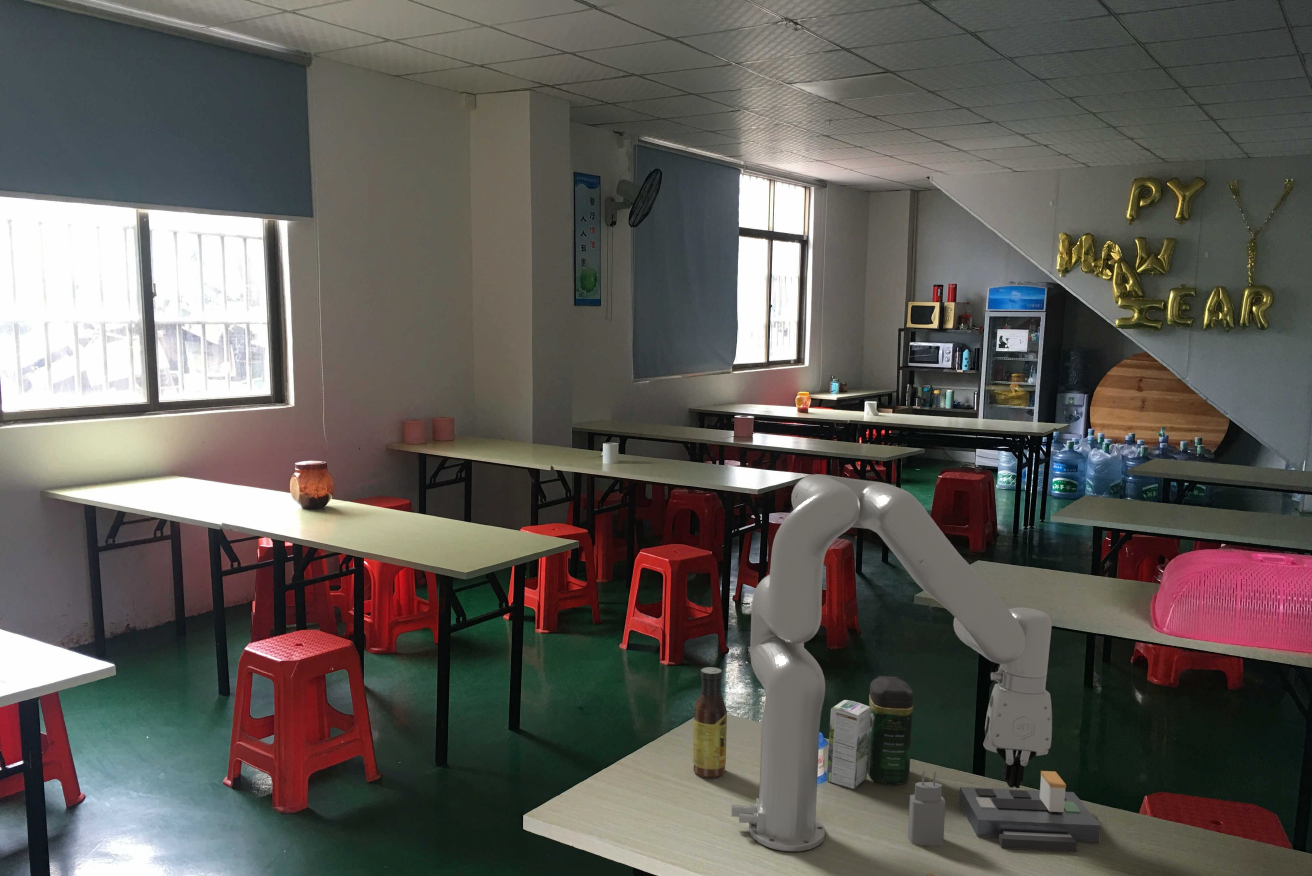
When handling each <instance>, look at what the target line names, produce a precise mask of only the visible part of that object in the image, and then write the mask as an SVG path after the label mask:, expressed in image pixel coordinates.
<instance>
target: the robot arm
mask: <svg viewBox="0 0 1312 876" xmlns="http://www.w3.org/2000/svg"><path fill="white" fill-rule="evenodd" d="M791 505H792V509H793V510H792V511H791V512H790V513H789V514H788V515H787V516H786V518H785V519H784V520H783V521H782V523H781V524H780V526H779V527H778V529H777V531H776V533H775V535H774V538H773V543H772V547H771V556H770V567H769V568H770V569H769V574H767V576H764V577H763V578H762V579H761V581H760V582H759V583H758V584H757V586H756V588H755V589H754V592H753V595H752V602H751V615H750V616H751V617H750V619H751V620H750V662H751V668H752V671H753V673H754V674H755V676H756V678H757V680H758V681H759V682H760V684H761V685H762V687H763V689H764V691H765V702H764V703H765V704H764V708H763V712H762V719H761V727H760V731H761V732H760V765H759V768H760V769H759V792H758V793H759V796H758V797H756V799H755V803H750V804H749V805H744V804H743V805H742V804H733V803H732V804H731V809H730V810H731V814H730V815H731V817H734V818H735V817H737V818H738V822H739V823H743V824H746V823H748V832H749V835H750V836H751V838H753V840H755V841H756V842H757V843H759V844H760V845H763V846H764V847H766V848H770V849H773V850H776V851H783V852H803V851H808V850H812V849H815V848H816V847H818V846H819V845H821V844H822V843H823V842H824V840H825V837H826V836H825V835H826V833H825V832H826V829H825V826H824V825H823V823H822V822H821V821H820V820H819V819H818V818H817V799H818V798H817V797H818V796H817V795H818V794H817V793H818V778H819V777H818V775H819V774H818V772H819V750H820V726H821V718H822V717H821V716H822V711H823V706H824V700H825V696H826V680H825V676H824V673H823V669H822V667H821V666H820V664H819V663H818V661H817V660H816V658H814V656H813V655H812V654H811V653H810V652H809V651H808V649H806V648H805V643H807V642H809V641H810V640H811V639H813V638H814V637H815V635H816V634H817V633H818V631H819V629H820V626H821V623H822V613H823V612H822V611H823V610H822V608H823V607H822V603H823V602H822V599H823V598H822V597H823V595H822V594H823V573H824V563H825V557H826V554H827V551H828V549H829V548H830V546H831V545H832V543H834V542H835V540H836V539H838V537H840V536H841V535H842V534H844V533H846V532H847V531H849V530H850V529H851V528H858V529H859V528H860V529H868V530H870V531H872V532H874V533H876V534H877V535H878V536H879V537H880V538H881V539H882V541H883V543H884V544H885V545H886V546H887V547H888V548H889V550H890V551H891V552H892V553H893V554H894V556H896V558H897V560H898V561H899V562H900V564H901V565H902V566H903V567H904V569H905V570H906V571H907V573H908V574H909V575H910V577H911V578H912V579H913V581H914V582H915V583H916V584H917V585H918V586H919V587H920V588H921V589H922V590H923V591H924V592H925V593H926V594H927V595H928V596H929V597H931V598H932V599H934V600H935V601H936V602H937V603H939V604H940V605H941V606H942V607H944V608H945V609H946V610H947V611H948V612H949V613H950V614H952V616H953V617H954V618H953V625H952V626H953V630H954V632H955V635H956V636H957V637H958V639H959V640H960V641H961V642H962V643H963V644H965V645H966V646H968V647H970V649H972V650H974V651H976V652H977V653H978V654H980V655H981V656H983V657H984V658H985V659H987V660H988V661H990V662H993V663H995V664H999V667H998V670H997V671H995V672H992V671H991V672H990V681H995V682H997V683H995V684H994V685H993V688H992V692H991V695H990V699H989V703H988V707H987V711H986V718H985V725H984V735H985V738H984V741H983V743H982V744H983V747H984V749H985V750H986V751H990V752H993V753H996V754H998V755H999V756H1000V758H1001V759H1002V760H1003V765H1002V766H1003V767H1002V768H1003V769H1002V779H1003V781H1005V783H1006V785H1008V788H1011V789H1013V788H1016V789H1020V787H1021V782H1024V772H1025V767H1026V766H1027V765H1028V763H1029V762H1030V761H1031V760H1033V758H1035V757H1036V756H1037V757H1039V756H1044V755H1048V753H1049V750H1050V748H1051V745H1052V737H1053V736H1052V733H1053V720H1052V719H1053V715H1052V714H1053V710H1052V699H1051V693H1050V692H1049V691H1048V690H1046V685H1047V684H1046V683H1047V675H1048V667H1049V666H1048V665H1049V657H1050V656H1049V654H1050V645H1051V635H1052V627H1053V626H1052V625H1053V624H1052V618H1051V617H1050V615H1049V614H1047V613H1046V612H1045V611H1042V610H1039V609H1035V608H1032V607H1031V608H1030V607H1021V606H1020V607H1019V606H1018V607H1013V608H1008V606H1006V604H1005V603H1004V602H1003V600H1002V599H1001V598H1000V597H999V596H998V594H996V592H995V591H994V590H993V589H992V588H991V587H990V585H988V584H987V582H986V581H985V580H984V579H983V578H982V577H981V576H980V575H979V573H977V571H976V570H975V569H974V568H973V567H972V566H971V565H970V564H969V562H967V560H966V559H965V558H963V556H962V555H961V554H960V553H959V552H958V550H957V549H956V548H955V547H954V545H953V544H952V543H951V541H950V540H949V539H948V538H947V537H946V535H945V534H944V533H943V531H942V530H941V529H940V527H939V526H938V525H937V522H935V520H934V519H933V518H932V517H931V516H930V514H929V512H928V511H927V510H926V508H925V507H924V506H923V505H922V503H920V501H919V500H918V499H917V498H916V497H915V496H914V495H913V494H912V493H910V492H909V491H907V490H905V489H903V488H900V487H897V486H895V485H892V484H890V483H886V482H885V483H884V482H880V481H873V480H865V479H856V478H849V477H843V476H842V477H841V476H835V475H830V474H821V473H819V474H817V473H815V474H810V475H807V476H804V477H802V479H800V480H799V481H798V482H797V483H796V484H795V485H794V486H793V489H792V492H791ZM1014 751H1016V752H1015V756H1014Z"/></svg>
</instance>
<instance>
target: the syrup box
mask: <svg viewBox="0 0 1312 876" xmlns="http://www.w3.org/2000/svg"><path fill="white" fill-rule="evenodd" d="M870 717H871V708H870V707H869V705H866V704H863V703H860V702H858V701H857V702H856V701H854V700H848V699H844V700H842V701H840V702H839V703H837V704H836V705H834V706H833V707H831V709H830V719H829V720H830V721H829V733H828V734H829V735H828V737H829V738H828V753H827V754H828V755H827V767H826V768H827V769H826V770H827V771H826V781H827V782H829V783H832V784H835V785H838V786H842V787H845V788H849V789H853V790H855V789H856V788H857V787H858V786H860V785H861V784H862V783H863V782H865V780H867V777H868V773H867V765H868V750H869V734H870Z"/></svg>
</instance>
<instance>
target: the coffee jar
mask: <svg viewBox="0 0 1312 876" xmlns="http://www.w3.org/2000/svg"><path fill="white" fill-rule="evenodd" d="M868 701H869V703H868V706H869V707H870V708H871V717H870V734H869V750H868V765H867V776H868V777H869V778H870V779H871V780H872V781H873V782H877V783H881V784H884V785H888V786H897V785H901V784H906V783H907V782H908V781H909V779H910V771H911V770H910V768H911V750H912V749H911V748H912V731H913V714H914V693H913V690H912V688H911V687H910V684H908V683H907V682H905V680H902V679H901V678H900V677H899V676H889V675H887V676H885V675H879V676H878V677H876V678H875V679H873V680H872V681H871V682H870V686H869V699H868Z"/></svg>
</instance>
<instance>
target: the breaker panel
mask: <svg viewBox="0 0 1312 876" xmlns="http://www.w3.org/2000/svg"><path fill="white" fill-rule="evenodd" d="M958 800H959V801H958V804H959V805H960V807H961V809H962V811H963V814H964V815H965V816H966V817H965V818H967V820H968V822H969V824H970V825H971V827H972V830H973V831H974V833H975V836H976V837H978V838H980V837H981V838H994V839H995V838H997V839H999V834H1003V831H1005V832H1026V833H1046V834H1067V835H1071V837H1073V838H1074V839H1075V841H1076V842H1077V843H1079V842H1080V843H1081V842H1082V843H1100V836H1101V835H1100V834H1101V824H1100V823H1099V822H1098V820H1097V819H1096V818H1095V817H1094V815H1093V814H1091V811H1089V809H1088V808H1087V807H1086V805H1084V803H1083V802H1082V801H1081V800H1080V798H1079V796H1077V794H1076V793H1075V792H1074V791H1065V802H1064V812H1049V810H1048V809H1047V808H1046V806H1045V805H1044V803H1043V802H1042V801H1041V799H1040V790H1036V789H1035V790H1031V789H1015V788H1014V789H1013V788H1011V789H1009V788H994V787H993V788H991V787H990V788H989V787H972V786H971V787H968V786H964V787H963V786H960V787H959V797H958Z"/></svg>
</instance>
